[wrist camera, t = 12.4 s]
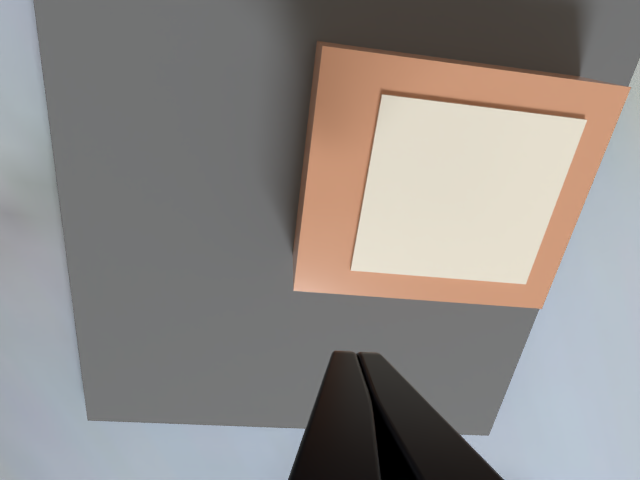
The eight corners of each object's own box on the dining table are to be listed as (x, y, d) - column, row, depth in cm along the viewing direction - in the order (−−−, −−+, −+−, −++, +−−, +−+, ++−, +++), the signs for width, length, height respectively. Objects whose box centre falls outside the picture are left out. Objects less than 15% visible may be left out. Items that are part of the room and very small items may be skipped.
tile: (293, 293, 12) (543, 310, 13) (322, 46, 9) (634, 88, 10) (292, 255, 14) (510, 272, 15) (317, 40, 11) (579, 76, 12)
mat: (94, 407, 17) (87, 420, 16) (29, -138, 10) (14, -147, 9) (482, 423, 18) (488, 435, 18) (658, -34, 12) (676, -36, 11)
